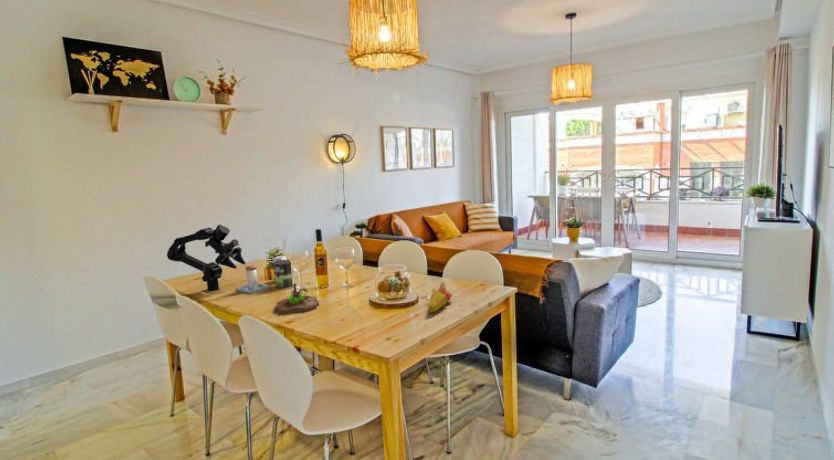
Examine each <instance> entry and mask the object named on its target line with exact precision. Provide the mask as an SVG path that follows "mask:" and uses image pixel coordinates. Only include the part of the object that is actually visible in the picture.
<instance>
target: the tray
mask: <svg viewBox="0 0 834 460" xmlns="http://www.w3.org/2000/svg"><path fill="white" fill-rule="evenodd" d="M270 289H272V286H271V285H269V284H265V283H259V282H258V289H256V290H252V291H250V290H248V284H245V285H241V286H237V287H235V291H237V292H239V293H245V294H249V295H253V294H256V293H260V292H264V291H267V290H270Z"/></svg>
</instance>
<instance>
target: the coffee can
mask: <svg viewBox="0 0 834 460" xmlns="http://www.w3.org/2000/svg"><path fill="white" fill-rule="evenodd" d="M290 260H291V259H287V260H280V261H276V262H274V263H273V262H272V266H274V267H273V273H274V274H273V276H274V286H275V288H276V289H283V290H284V291H285V290H290V289H294V286H293V285H294V283H295V276H294V268H293V269H292V268H291V262H290Z"/></svg>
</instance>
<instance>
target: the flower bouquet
mask: <svg viewBox="0 0 834 460" xmlns="http://www.w3.org/2000/svg"><path fill="white" fill-rule="evenodd" d="M445 284H446V279H444V280H442V281H441V282H440V285H439V289H438V288H437V287H436V286H434V287H432V288H431V291H432V294H431V295H430V301H429V303H428V306H427V307H428V308H427V309H428V312H429V313H434V312H437V311H439V310H440V309H441V308H444V307H445V305H446V304H447V303H448V302H449V301H450V299H452V296H453V295H454V294H453V293H450V292H451V289H447V286H446V285H445Z"/></svg>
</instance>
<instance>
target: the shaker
mask: <svg viewBox="0 0 834 460" xmlns="http://www.w3.org/2000/svg"><path fill="white" fill-rule="evenodd" d="M257 272H258V271H257V265H255V264H254V265H253V264H252V265H246V266H245V273H246V283H247V285H248V290H250V291H252V290H256V289H258V283H259V282H258V281H259V280H258V273H257Z"/></svg>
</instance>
